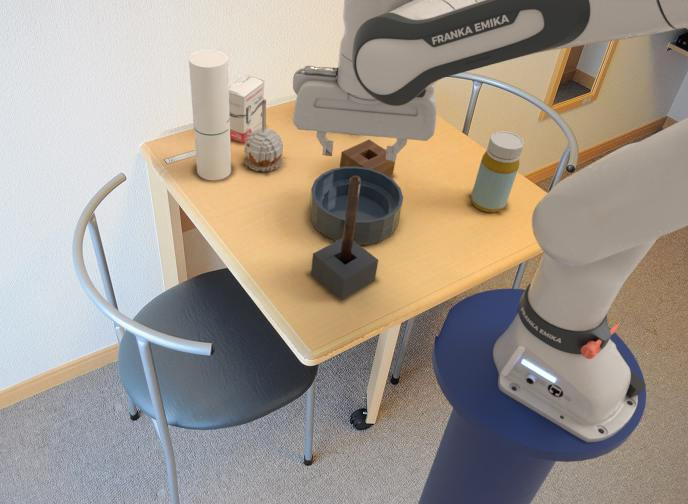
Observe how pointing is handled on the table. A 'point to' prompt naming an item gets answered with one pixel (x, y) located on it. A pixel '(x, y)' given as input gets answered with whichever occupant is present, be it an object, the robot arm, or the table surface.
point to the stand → (344, 269)
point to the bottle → (497, 171)
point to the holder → (367, 158)
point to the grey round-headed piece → (263, 147)
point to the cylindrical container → (211, 113)
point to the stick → (350, 219)
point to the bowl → (373, 207)
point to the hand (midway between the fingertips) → (358, 156)
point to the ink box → (245, 107)
